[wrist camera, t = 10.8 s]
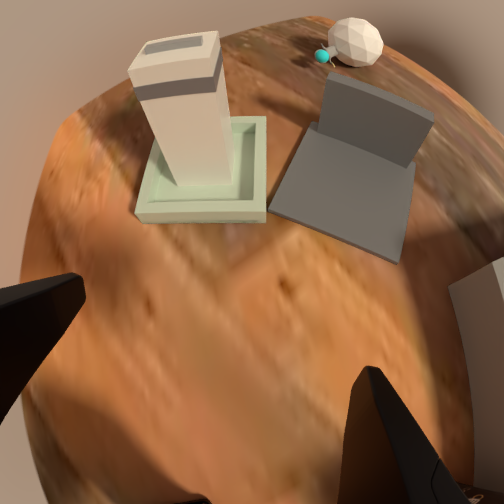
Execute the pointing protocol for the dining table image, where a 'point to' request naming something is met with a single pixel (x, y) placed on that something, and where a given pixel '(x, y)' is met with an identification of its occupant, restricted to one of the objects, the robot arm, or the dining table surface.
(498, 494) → the coffee mug
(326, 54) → the perfume bottle
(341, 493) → the robot arm
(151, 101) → the banded cream pillar
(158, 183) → the tray
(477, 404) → the box
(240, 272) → the dining table surface
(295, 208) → the dock
